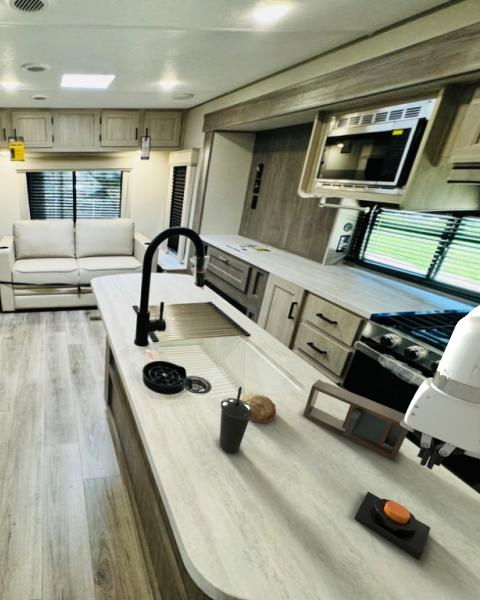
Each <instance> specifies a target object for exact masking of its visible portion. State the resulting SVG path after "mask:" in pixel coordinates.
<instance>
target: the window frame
mask: <svg viewBox="0 0 480 600" xmlns="http://www.w3.org/2000/svg"><path fill="white" fill-rule="evenodd" d="M319 393H322V394H324V395H326V396H329V397H331V398H334V399H335V400H337V401H338V400H339V401H340V402H343V403H345V404H347V405H349V406H350V405H352V406H354V407H357V408H359V409H361V410H364V411H366V412H368V413H371V414H373V415H375V416H378V417H380V418H382V419H385V420H387V421H389V422H392V423H393V424H392V426H391V428H390V431H389V433H388V435H387V437H386V440H385V442H384V444H383V446H380V445H378V444H377V443H374V442H372V441H370V440H368V439H366V438H364V437H362V436H360V435H358V434H356V433H354V432H353V433H352V435H351V436H350V437H348V436H346V435H344V432H345V428H343V427H342V426H343V423H344V420H343V419H340V418H339V417H337V416H335V415H332V414H330V413H328V412H325V411H323V410H321V409H319V408H317V407H315V405H316V402H317V399H318V396H319ZM303 411H304V412H303V414H302V416H303V417H304V418H305V419H306V418H307V419H308V420H310V421H312V422H315V423H316V424H317V425H320V426H323V427H325V428H327V429H329V430H331V431H332V432H334V433H336V434H339V435H340V436H343V437H345V438H347V439H349V440H351V441H353V442H354V443H356V444H358V445H361V446H363V447H365V448H367V449H369V450H371V451H373V452H375V453H377V454H379V455H380V456H383V457H385V458H387V459H389V460H391V461H393V462H395V460H396V458H397V456H398V454H399V453H400V450H401V447H402V445H403V443H404V441H405V439H406V437H407V435H408V433H409V432H410V431H409V430H407V429H406V428H404V427H402V426H401V425H400V422H401V420H402V419H403V418H404V417H405V415H406V413H403V412H400V411H398V410H397V409H393V408H391V407H389V406H386V405H383V404H381V403H378V402H376V401H373V400H371V399H368V398H366V397H364V396H361V395H358V394H356V393H353V392H351V391H349V390H347V389H343V388H342V387H339V386H336V385H333V384H331V383H329V382H327V381H324V380H321V379H320V378H319V379H317V380H316V381H315V382H314V383H313V384H312V385H311V388H310V391H309V395H308V397H307V401H306V403H305V407H304V410H303Z"/></svg>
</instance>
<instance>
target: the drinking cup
mask: <svg viewBox="0 0 480 600" xmlns="http://www.w3.org/2000/svg"><path fill="white" fill-rule="evenodd" d="M242 390H243V387H242V386H238V390H237V396H236V398H235V397H226V398H224V399H222V400H221V402H220V408H221V409H220V427H219V448H220V449H221V450H222V451H224V452H225V453H227V454H232V455H233V454H236V453H238V452H239V450H240V447H241V445H242V442H243V439H244V436H245V433H246V430H247V429H248V428H247V427H248V425H249V423H250V420H251V419H250V417H251V416H252V414H253V410H252V408H251V407H250V406H249V405H248V404H247V403H246V402H244V401H242V400H241V395H242Z"/></svg>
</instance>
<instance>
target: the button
mask: <svg viewBox="0 0 480 600" xmlns="http://www.w3.org/2000/svg"><path fill="white" fill-rule="evenodd" d="M393 501H394V500H391V501H388V502H387V503H386V505H385V507H384V512H385V514H386V515H387V516H388V517H389V518H391V519H393V520H394V521H396V522H398V523H401V524H405V523H407V522H408V520H409V518H410V513H411V512H410V511H409V510H408V509H407V508H406V507H405V506H404V505H402V504H400V503H398V502H397V501H394V502H393ZM409 512H410V513H409Z"/></svg>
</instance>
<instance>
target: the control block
mask: <svg viewBox="0 0 480 600" xmlns="http://www.w3.org/2000/svg"><path fill="white" fill-rule="evenodd" d="M388 501H393V502H395V501H394V500H390V499H388V498H381V497H379V496H377V495H375V494H374V493H372V492H370V491H367V492H366V494H365V496H364V497H363V500H362V502H361V503H360V505H359V507H358V509H357V511H356V513H355V515H354V518H353V519H354V520H355V521H357V522H358V523H359V524H361V525H362V526H365V527H366V528H367V529H368V530H370V531H372V532H374V533H375V534H377V535H378V536H379V537H381V538H383V539H384V540H386V541H387V542H389V543H390V544H392V545H394V546H395V547H397V548H398V549H400V550H401V551H403V552H404V553H406V554H407V555H409V556H411V557H412V558H413V559H415V560H416V561H420V560H421V558H422V555H423V554H424V552H425V548H426V544H427V541H428V538H429V534H430V532H431V528H432V527H431V526H429V525H428V524H426V523H424V522H422V521H421V520H418V519H417V518H416V517H415V515H414V514H413V513H411V512H410V511H409V513H410V518H409V520H408V522H407V523H405V524H401V523H398V522H396V521H394V520H393V519H391V518H389V517H388V516H387V515H386V514H385V512H384V507H385V505H386V503H387V502H388Z"/></svg>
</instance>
